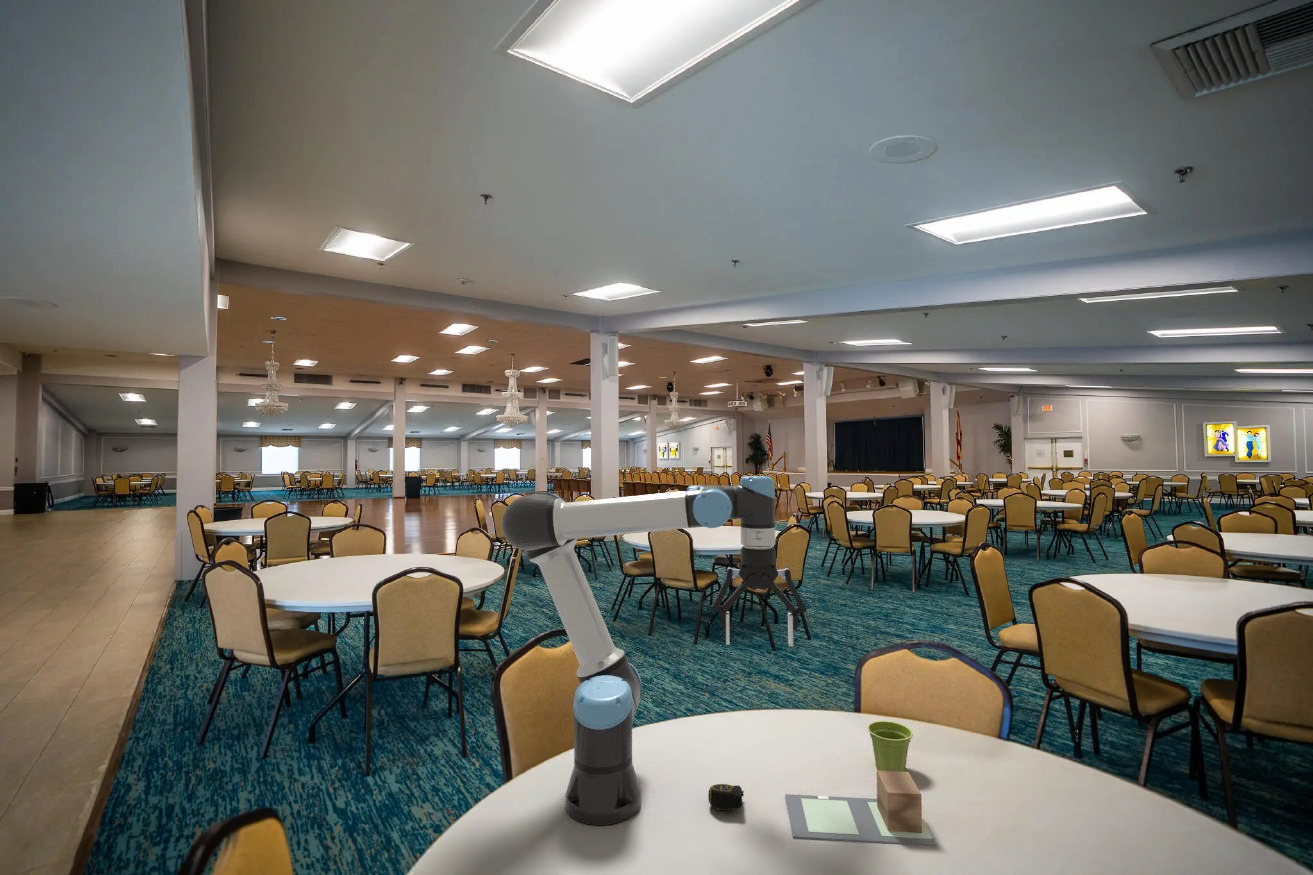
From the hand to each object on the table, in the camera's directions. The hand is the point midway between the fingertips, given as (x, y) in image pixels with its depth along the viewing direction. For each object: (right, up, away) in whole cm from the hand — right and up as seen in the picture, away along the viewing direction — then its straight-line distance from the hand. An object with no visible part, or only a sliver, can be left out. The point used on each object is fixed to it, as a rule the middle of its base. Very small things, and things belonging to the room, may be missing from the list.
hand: (759, 643), depth 136 cm
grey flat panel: (+15, -28, -18) cm, 37 cm away
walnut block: (+23, -27, -18) cm, 40 cm away
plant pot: (+30, -29, +2) cm, 41 cm away
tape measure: (-6, -28, -15) cm, 32 cm away
